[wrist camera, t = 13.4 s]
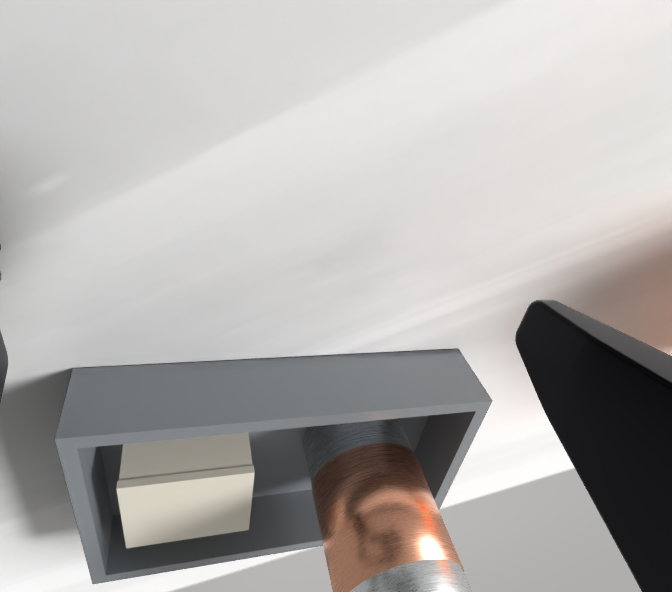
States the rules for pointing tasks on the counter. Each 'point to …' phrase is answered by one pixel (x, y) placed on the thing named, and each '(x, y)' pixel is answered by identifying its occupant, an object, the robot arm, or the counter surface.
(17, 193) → the counter surface
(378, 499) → the steel tin
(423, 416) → the grey rectangular tray
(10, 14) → the counter surface
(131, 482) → the cream smooth square block
